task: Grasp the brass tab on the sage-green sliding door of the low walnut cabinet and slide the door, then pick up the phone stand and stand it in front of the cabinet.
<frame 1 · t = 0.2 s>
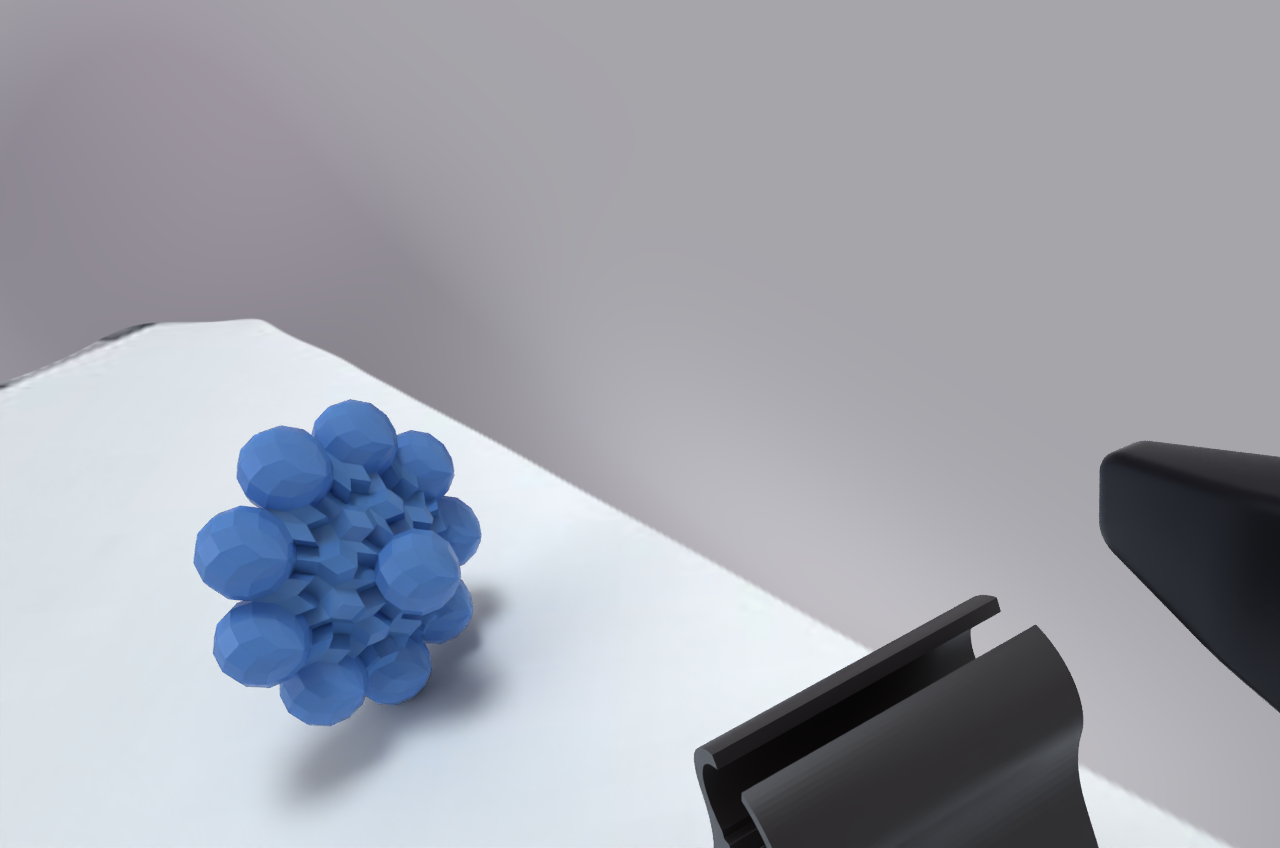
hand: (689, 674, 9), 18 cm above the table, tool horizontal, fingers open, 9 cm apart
grapes: (432, 698, 37), on the table
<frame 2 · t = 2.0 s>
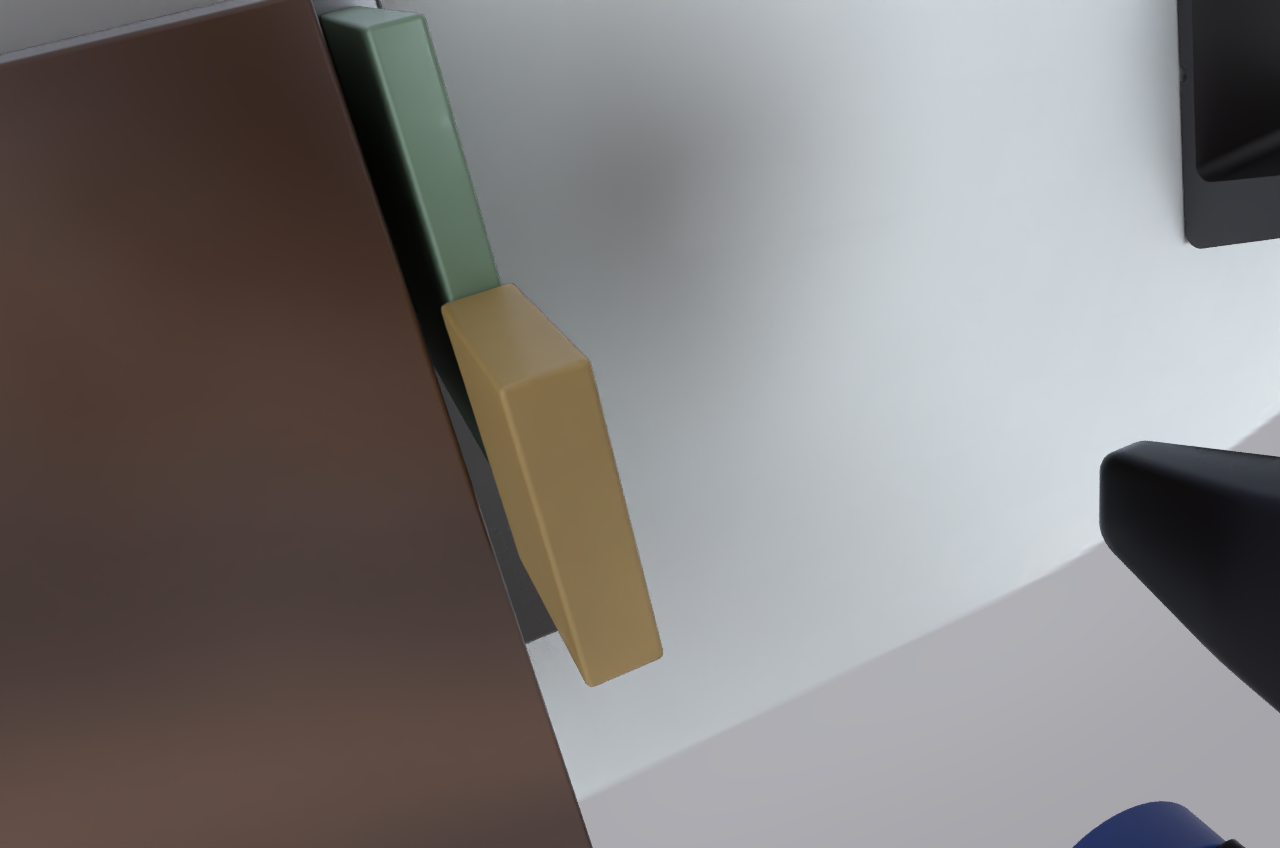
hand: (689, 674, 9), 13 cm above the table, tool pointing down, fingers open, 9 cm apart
door: (460, 288, 14), point 6 cm above the table, slide at 0.0 cm
phone stand: (1267, 32, 25), on the table
cabinet: (175, 439, 19), on the table
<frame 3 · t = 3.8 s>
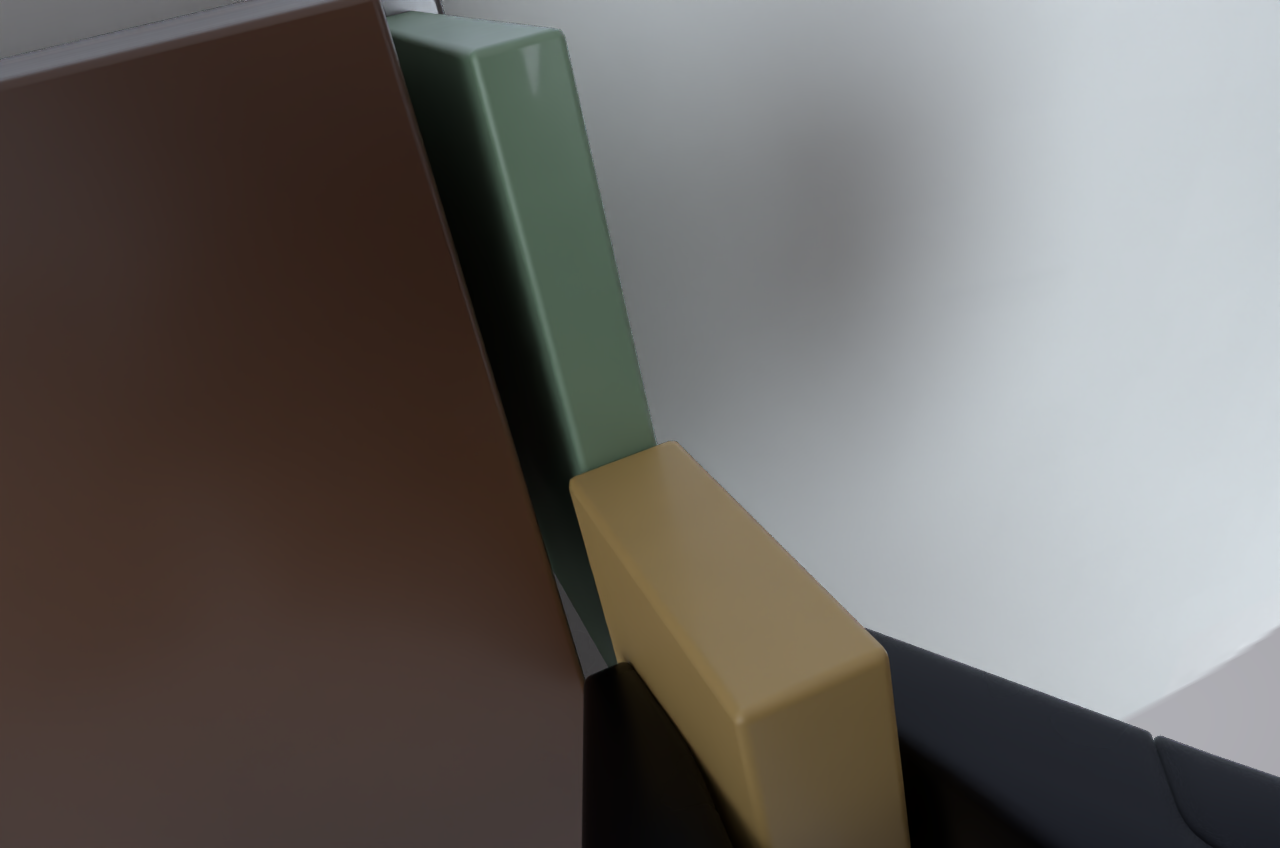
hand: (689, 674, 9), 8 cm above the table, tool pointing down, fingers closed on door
door: (576, 426, 10), point 6 cm above the table, slide at 0.0 cm, touching gripper
cabinet: (164, 577, 15), on the table
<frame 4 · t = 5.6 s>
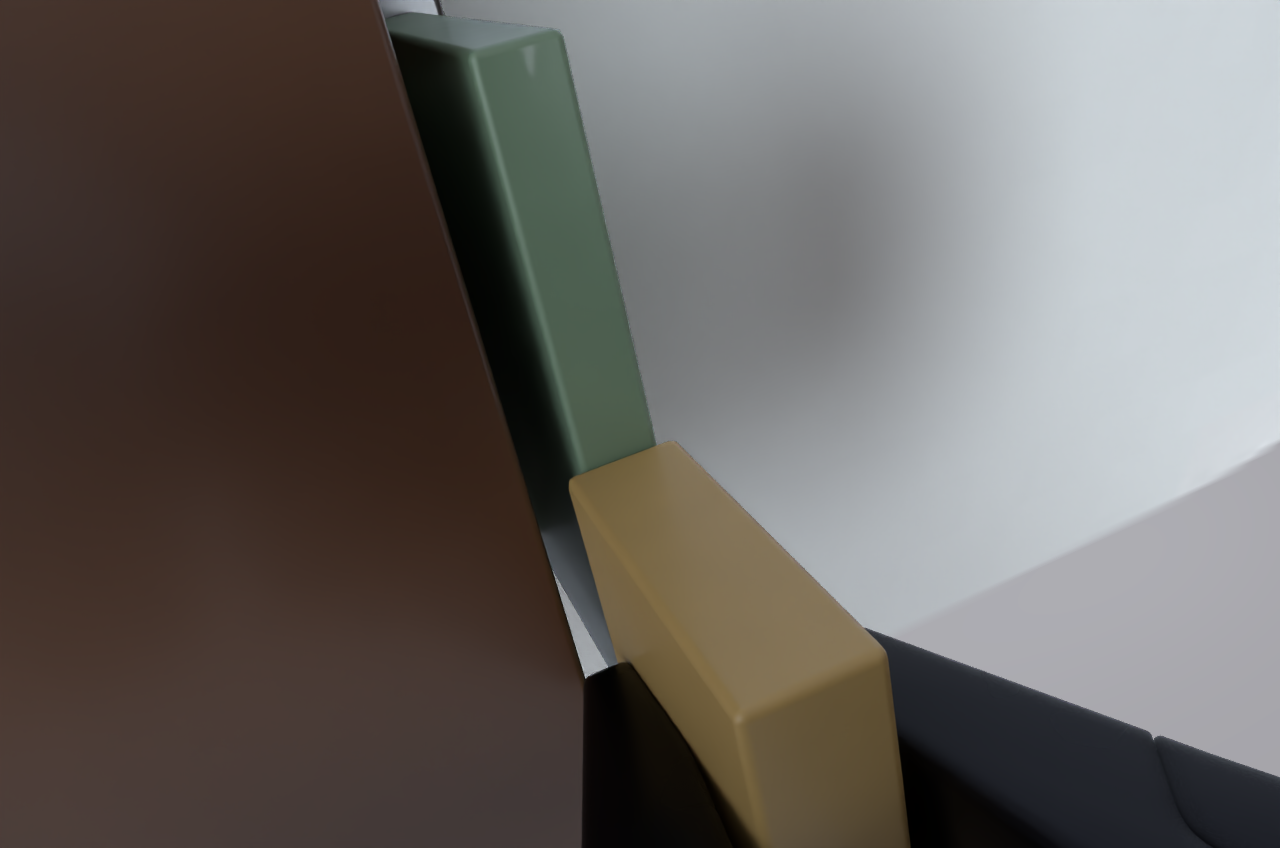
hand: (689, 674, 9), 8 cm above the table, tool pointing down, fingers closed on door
door: (576, 426, 10), point 6 cm above the table, slide at 5.8 cm, touching gripper
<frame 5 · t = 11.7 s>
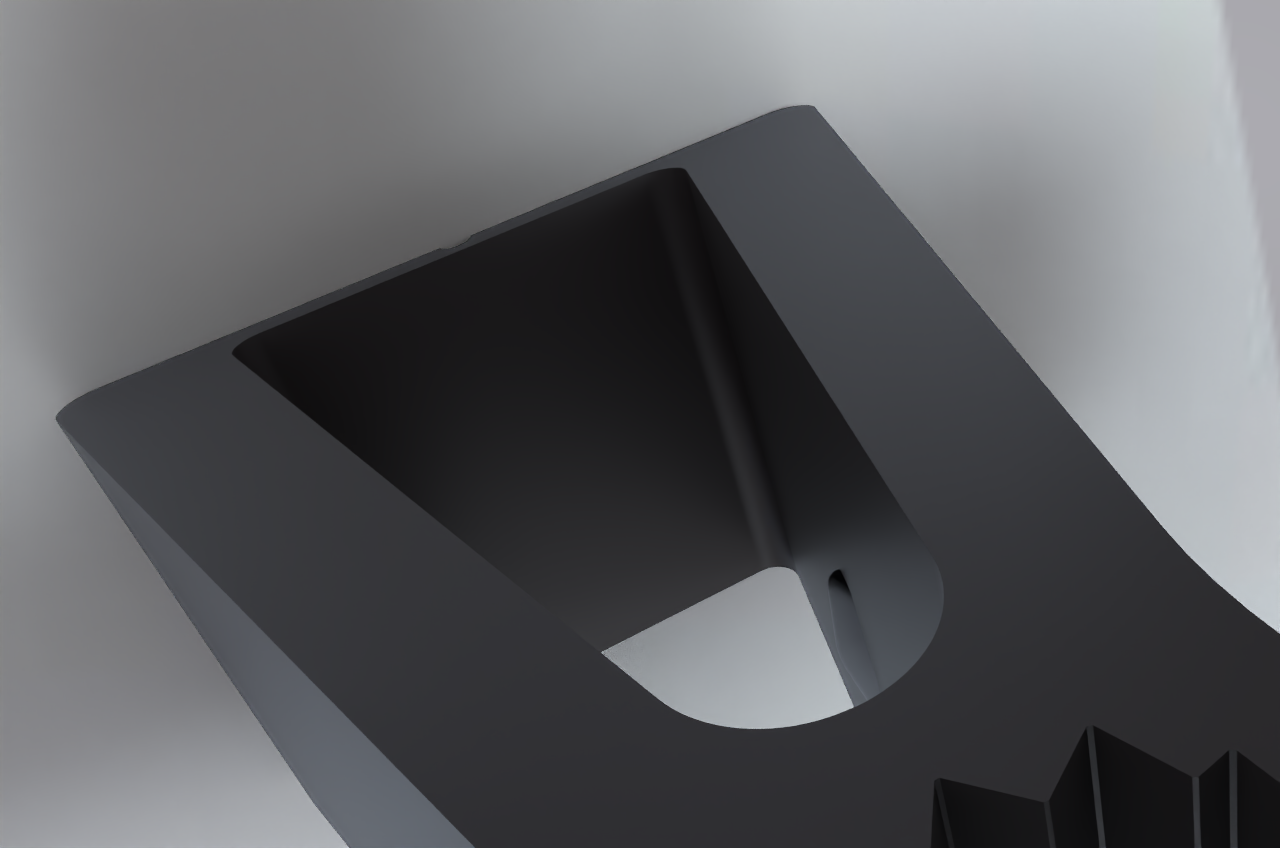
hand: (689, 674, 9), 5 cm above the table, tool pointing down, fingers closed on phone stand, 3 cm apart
phone stand: (537, 449, 13), on the table, touching gripper
when the fingers open (5 cm above the table, at t = 16.1 s): phone stand stays where it is, on the table.
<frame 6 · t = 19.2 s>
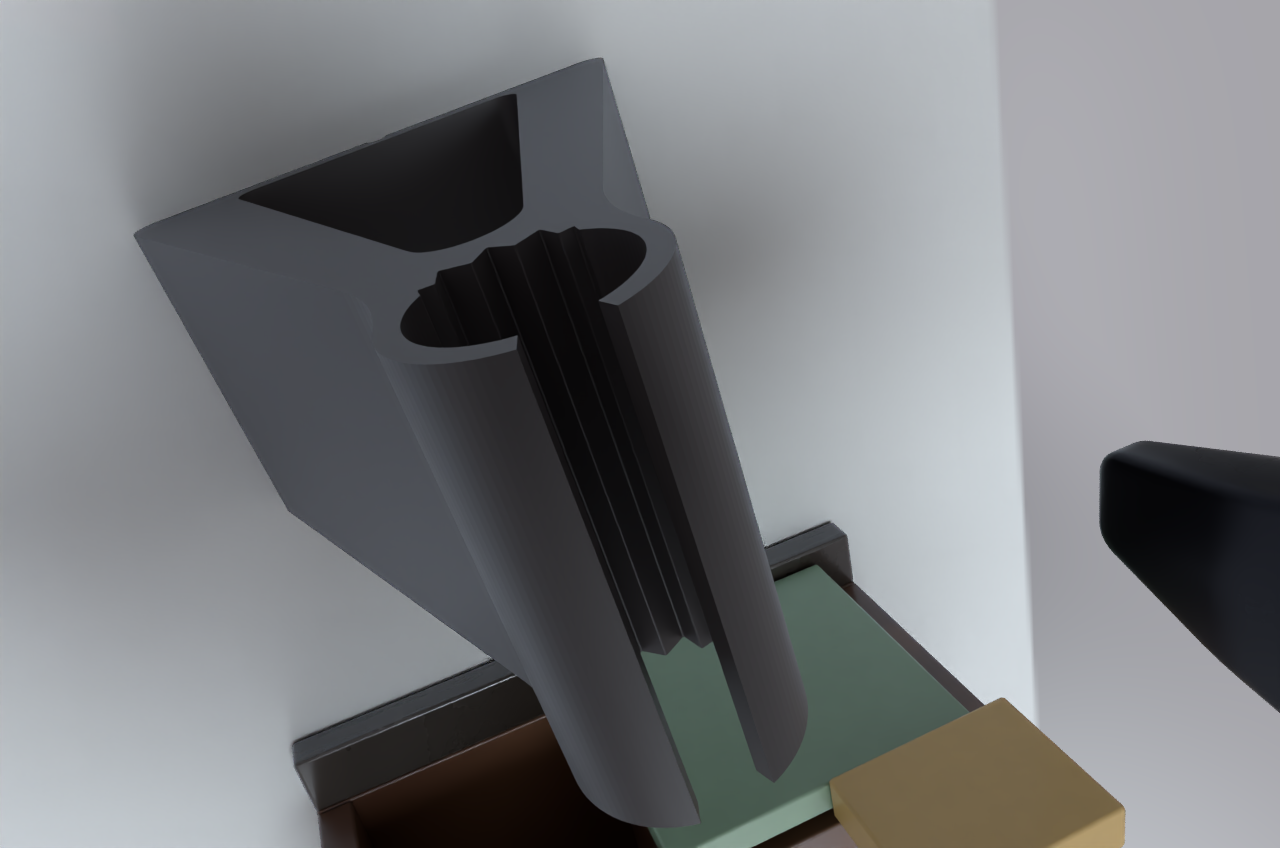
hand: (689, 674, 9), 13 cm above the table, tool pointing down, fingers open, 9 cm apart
door: (808, 741, 21), point 6 cm above the table, slide at 5.9 cm
phone stand: (434, 282, 20), on the table
cabinet: (630, 797, 27), on the table
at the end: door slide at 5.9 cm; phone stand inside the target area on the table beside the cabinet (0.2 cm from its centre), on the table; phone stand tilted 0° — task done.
